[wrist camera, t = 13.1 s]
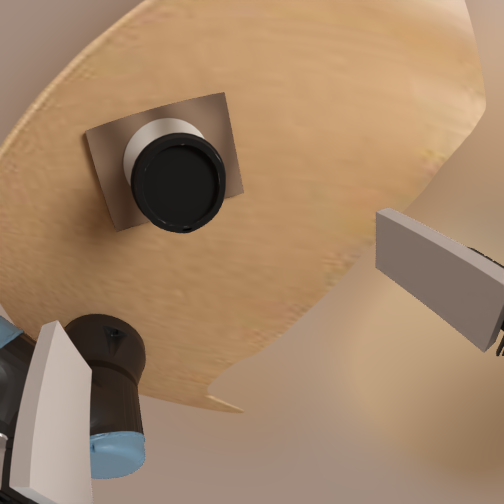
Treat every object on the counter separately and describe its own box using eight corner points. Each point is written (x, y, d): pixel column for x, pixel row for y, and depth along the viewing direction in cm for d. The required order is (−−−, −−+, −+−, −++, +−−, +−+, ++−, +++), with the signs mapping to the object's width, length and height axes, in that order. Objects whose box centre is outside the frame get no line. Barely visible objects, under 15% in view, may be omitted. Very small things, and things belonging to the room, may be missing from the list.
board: (117, 228, 39) (116, 233, 38) (87, 130, 33) (84, 131, 31) (240, 190, 43) (244, 193, 41) (221, 93, 36) (225, 91, 35)
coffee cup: (139, 199, 37) (138, 245, 24) (130, 134, 33) (121, 142, 20) (203, 188, 39) (236, 227, 26) (198, 124, 35) (230, 128, 23)
